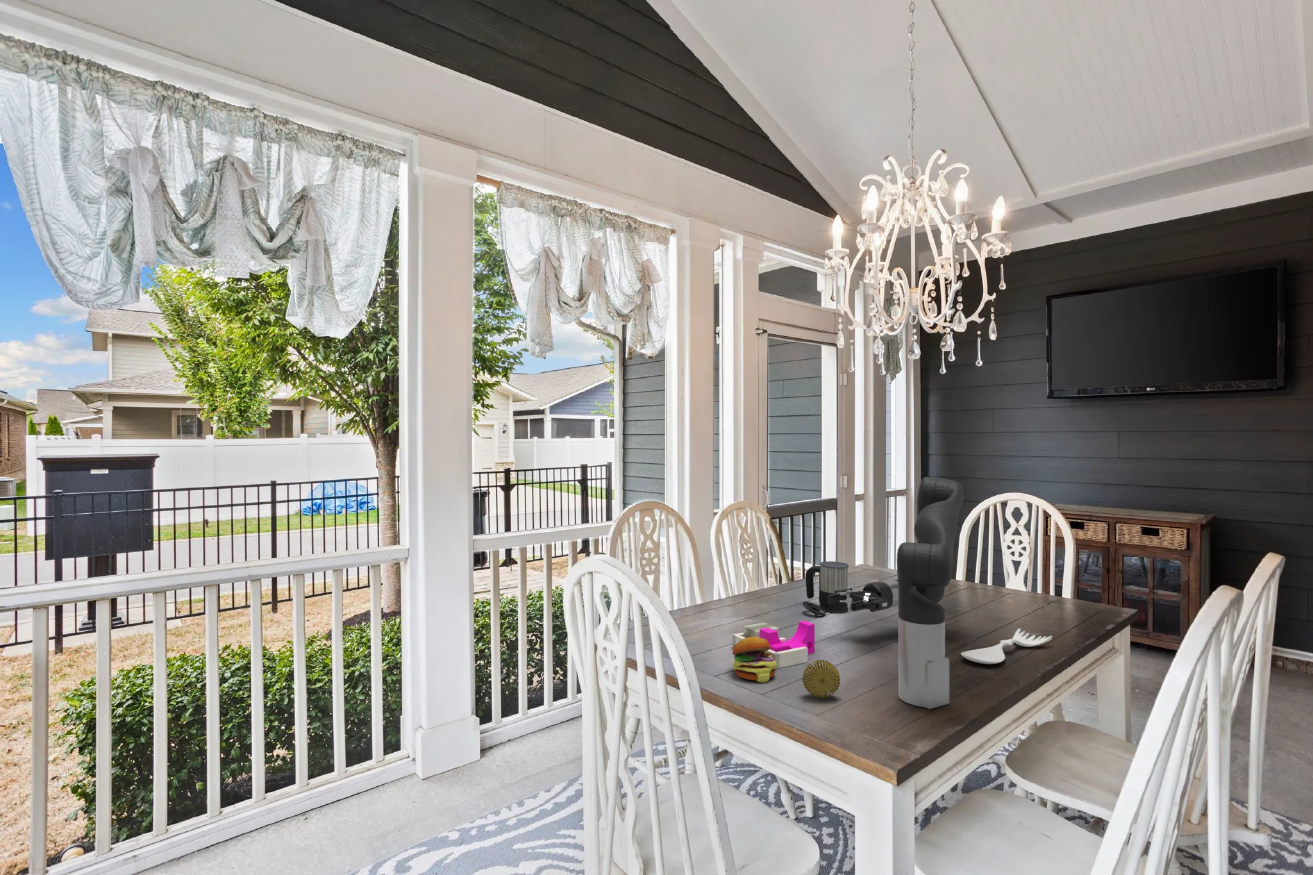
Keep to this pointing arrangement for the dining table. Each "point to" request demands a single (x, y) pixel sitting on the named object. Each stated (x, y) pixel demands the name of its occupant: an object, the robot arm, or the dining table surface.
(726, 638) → the dining table surface
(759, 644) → the cheeseburger
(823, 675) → the sculpture
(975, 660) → the white long tined part
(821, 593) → the milk frother
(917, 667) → the robot arm
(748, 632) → the sage block
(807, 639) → the toy block
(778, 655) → the lane rack
